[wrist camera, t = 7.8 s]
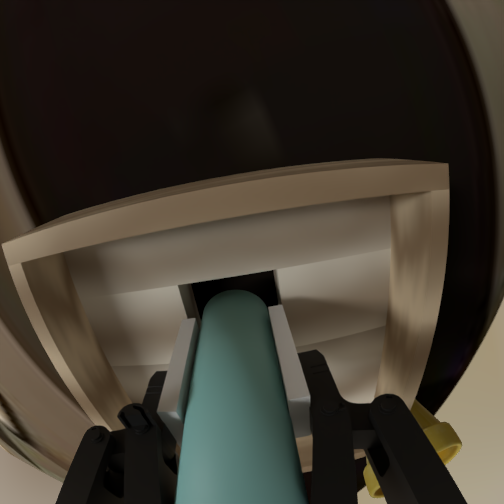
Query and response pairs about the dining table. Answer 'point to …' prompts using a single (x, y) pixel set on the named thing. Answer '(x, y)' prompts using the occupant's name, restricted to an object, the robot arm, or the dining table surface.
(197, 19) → the dining table surface
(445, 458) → the plant pot
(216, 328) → the peg
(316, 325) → the box
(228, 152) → the dining table surface
